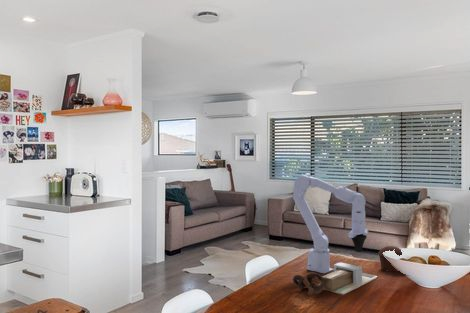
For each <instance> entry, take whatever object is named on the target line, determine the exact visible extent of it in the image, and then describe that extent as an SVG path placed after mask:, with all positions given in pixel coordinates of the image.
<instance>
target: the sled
mask: <svg viewBox="0 0 470 313" xmlns="http://www.w3.org/2000/svg"><path fill="white" fill-rule="evenodd" d="M321 276H322V278H323V280H324V285H325V286H324V288H323V289H322V290H324V289H326V290H325V291H328V290H330V291H329V292H332V291H334V290H336V289H338V288H340V287H343V286H345V285H347V284H349V283H351V282H353V271H351V270H347V269H339V270H337V271H335V272H334V271H331V272H330V273H327V274H325V275H321Z"/></svg>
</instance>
